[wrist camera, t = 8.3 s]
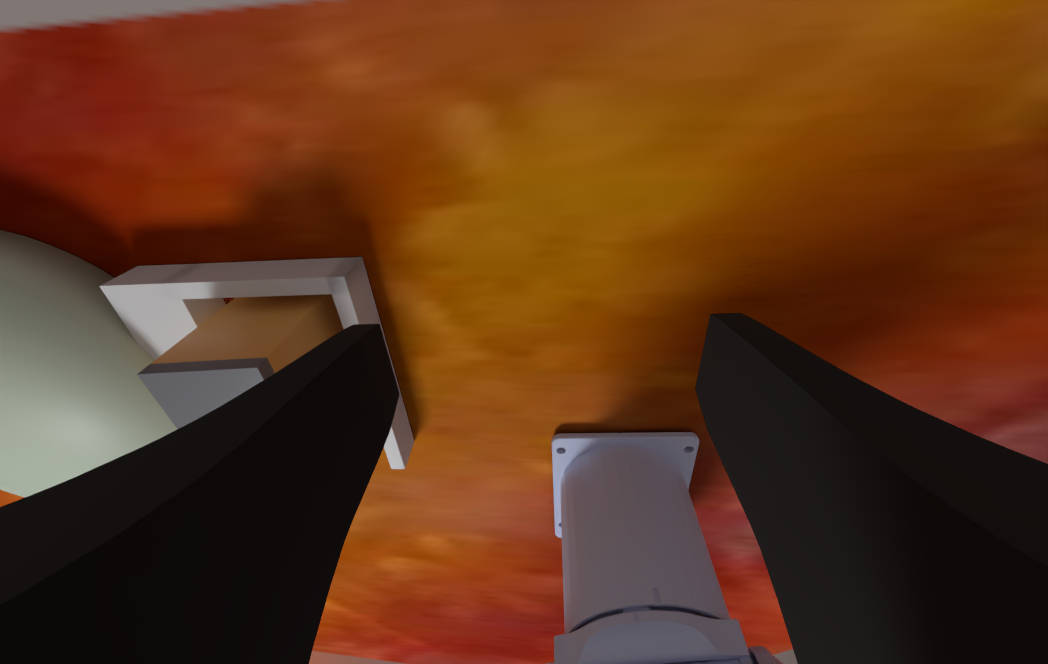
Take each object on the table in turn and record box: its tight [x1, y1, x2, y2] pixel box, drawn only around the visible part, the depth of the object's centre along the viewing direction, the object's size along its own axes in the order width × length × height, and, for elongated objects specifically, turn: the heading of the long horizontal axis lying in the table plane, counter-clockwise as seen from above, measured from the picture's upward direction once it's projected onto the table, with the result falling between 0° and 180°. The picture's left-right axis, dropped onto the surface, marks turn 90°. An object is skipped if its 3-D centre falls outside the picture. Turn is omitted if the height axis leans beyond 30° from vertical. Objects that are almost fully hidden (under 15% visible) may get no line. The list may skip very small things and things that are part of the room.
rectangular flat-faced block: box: [137, 294, 344, 429], centre depth 20 cm, size 8×4×6 cm, turn 5°
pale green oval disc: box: [0, 230, 414, 498], centre depth 21 cm, size 16×26×3 cm, turn 93°
